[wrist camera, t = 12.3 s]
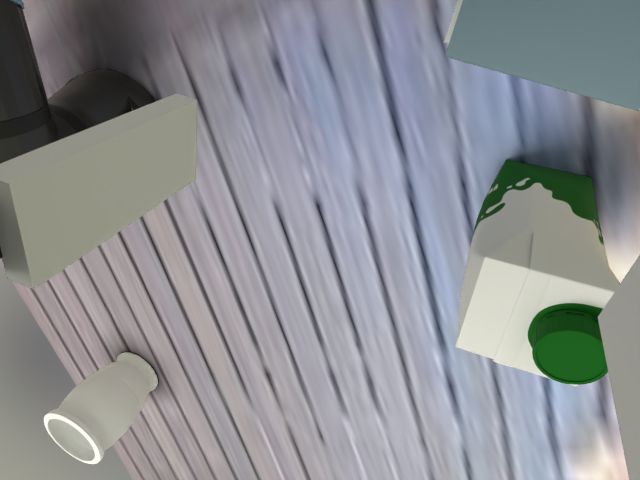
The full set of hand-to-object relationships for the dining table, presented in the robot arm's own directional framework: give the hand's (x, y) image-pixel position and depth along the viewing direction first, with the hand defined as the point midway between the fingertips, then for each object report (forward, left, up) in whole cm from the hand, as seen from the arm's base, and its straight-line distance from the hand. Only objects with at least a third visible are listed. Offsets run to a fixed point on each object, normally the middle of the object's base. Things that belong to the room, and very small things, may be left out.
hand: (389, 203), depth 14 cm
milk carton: (+9, -12, -31) cm, 35 cm away
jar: (-36, -65, -31) cm, 80 cm away
